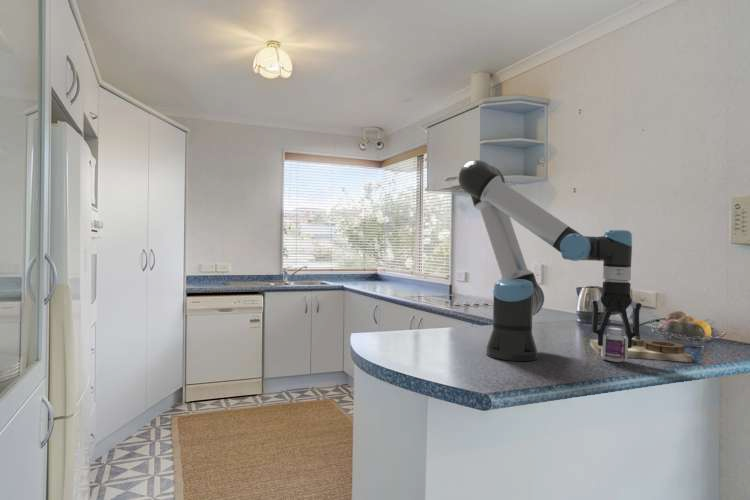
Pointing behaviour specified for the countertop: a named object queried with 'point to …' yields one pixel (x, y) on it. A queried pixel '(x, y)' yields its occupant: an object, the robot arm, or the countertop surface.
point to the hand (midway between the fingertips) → (613, 357)
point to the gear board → (647, 353)
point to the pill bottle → (614, 345)
